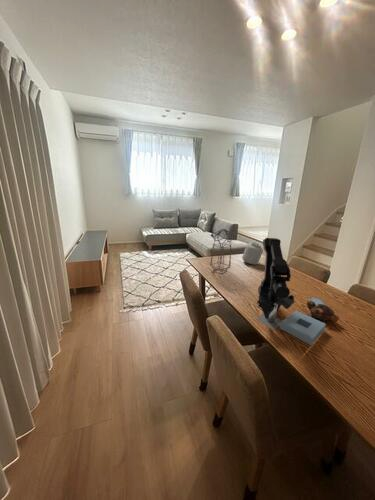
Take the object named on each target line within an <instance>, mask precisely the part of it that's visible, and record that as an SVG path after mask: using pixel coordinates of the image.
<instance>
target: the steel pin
mask: <svg viewBox="0 0 375 500" xmlns="http://www.w3.org/2000/svg"><path fill="white" fill-rule="evenodd" d="M277 307H278V304H277V303H275V304H274V310H273V311H272V312H270V315H269V317H268V319H266V320H267V321H268V322H269V323H274V322H275V318H277V317H276V316H277V313H278V312H277ZM276 312H277V313H276Z"/></svg>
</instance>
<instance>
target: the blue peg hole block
mask: <svg viewBox="0 0 375 500" xmlns="http://www.w3.org/2000/svg"><path fill="white" fill-rule="evenodd" d="M326 325H327V323H325V322H321V320H318V319H316V318H312V316H309V315H307V314H304V313H303V312H301V311H298V310H294V311H293V312H292V313H290V314H289V315H288V316H287V317H286V318H284V319H283V320H282V322H281V325H280V326H279V329H280V330H282V331H284V332H286V333H288V334H289V335H291V336H293V337H295V338H297V339H299V340H301V341H302V342H304V343H306V344H307V345H310V346H312V345H313V344H314V343H315V342H316V341H317V340H318V338H320V336H321V335H322V334H323V333H324V332H325V328H326Z"/></svg>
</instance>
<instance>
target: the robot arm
mask: <svg viewBox="0 0 375 500" xmlns="http://www.w3.org/2000/svg"><path fill="white" fill-rule="evenodd" d="M262 246H263V251H264V252H265V263H264V264H265V266H264V276H263V279H262V280H261V282H260V285H259V286H258V288H257V293H258V295H259V296H258V300H257V301H256V304H258V305H257V306H258V307H259V308H260V309H261V310H262V313H263V315H264V316H265V318H266V319H268V317H269V315H270V312H272V311H273V310H274V304H275V303H277V304H278V307H277V312H276V314H277V313H278V312H279V310H280V308H281V307H283V308H284V309H286V310H288V309H289V308H291V307H292V306H293V304H294V303H295V296H294V295H293V294H291V292H290V289H289V287H288V285H287V282H290V280H291V278H292V277H291V276H292V275H291V269H290V266H289V264H288V262H287V260H285V259H284V256H283V253H282V247H281V239H280V238H275V237H265V238H264V239H262Z"/></svg>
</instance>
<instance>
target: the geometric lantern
mask: <svg viewBox="0 0 375 500" xmlns="http://www.w3.org/2000/svg"><path fill="white" fill-rule="evenodd" d="M221 234H222V235H223V236H222V237H221V238H220V235H221ZM209 236H210V237H212V239H213V240H214V242H213V244H212V252H211V258H210V265H209V266H211V268H212V271H213V272H215V273H217V274H225V273H227V271H228V270H229V269H230V268H231V264H232V263H231V262H232V261H231V257H232V252H231V251H232V244H231V242H232V241H233V240H234V239H235V238H236V237H237V236H236V235H235V234H233V233H232V232H230V231H229V230H227V229H226V228H222V229H220V230H218V231H215V232H213V233H211V234H209ZM223 239H224V241H223V242H222V243H221V242H220V241H222V240H223ZM226 241H227V242H226ZM216 242H218V245H219V246H218V245H217V243H216ZM227 243H228V244H227ZM215 247H217V248H219V250H218V254H219V255H218V257H217V262H214V263H213V256H214V255H213V254H214V249H215ZM228 247H229V261H228V263H229V264H225V262H224V261H225V260H224V259H225V249H226V248H228ZM221 252H222V253H221ZM215 264H217V266H213V265H215ZM221 264H222V265H223V266H221ZM224 266H227V267H224ZM217 271H219V272H217Z"/></svg>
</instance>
